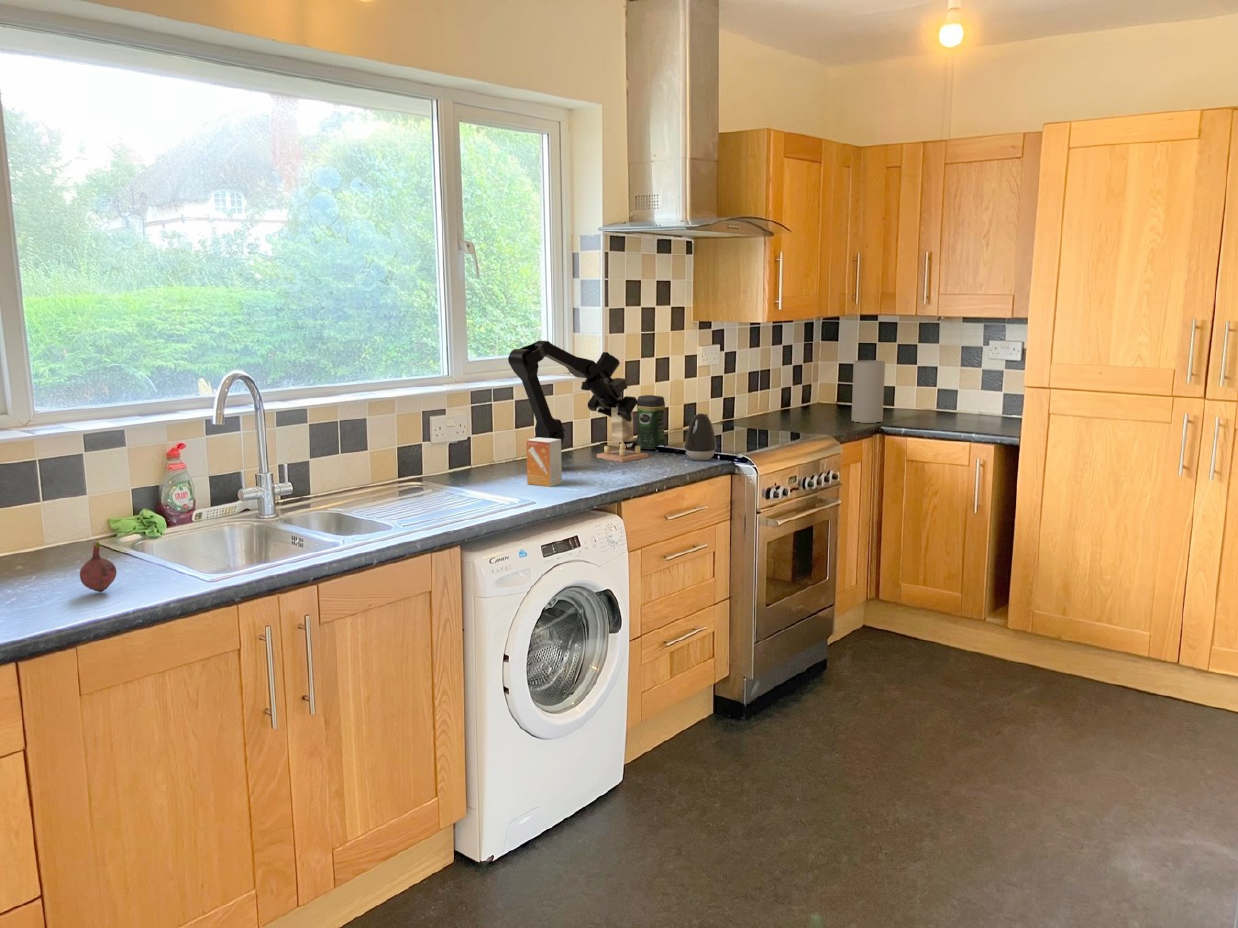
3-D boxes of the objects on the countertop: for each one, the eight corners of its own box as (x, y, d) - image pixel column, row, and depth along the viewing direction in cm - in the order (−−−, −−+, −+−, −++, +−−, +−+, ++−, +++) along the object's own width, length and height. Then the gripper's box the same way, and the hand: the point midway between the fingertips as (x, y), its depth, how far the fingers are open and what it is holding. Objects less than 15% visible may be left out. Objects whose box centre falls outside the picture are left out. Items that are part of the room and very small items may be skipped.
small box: (526, 484, 279) (525, 439, 277) (539, 480, 284) (538, 436, 282) (550, 487, 275) (549, 441, 273) (562, 483, 280) (561, 438, 278)
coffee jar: (668, 447, 341) (668, 395, 338) (656, 450, 335) (656, 397, 331) (645, 445, 347) (645, 393, 343) (633, 448, 340) (633, 395, 337)
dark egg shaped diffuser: (720, 457, 320) (721, 412, 318) (710, 463, 311) (710, 416, 308) (691, 455, 324) (692, 410, 322) (680, 460, 315) (680, 414, 312)
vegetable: (103, 599, 178) (97, 546, 176) (73, 597, 179) (67, 545, 177) (125, 589, 184) (120, 538, 182) (96, 587, 185) (91, 536, 183)
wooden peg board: (622, 461, 314) (622, 450, 313) (596, 457, 322) (596, 446, 322) (647, 457, 322) (647, 446, 321) (622, 453, 331) (622, 442, 330)
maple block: (622, 441, 317) (621, 402, 315) (611, 440, 321) (611, 401, 319) (633, 440, 321) (632, 401, 319) (622, 439, 324) (622, 400, 322)
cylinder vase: (856, 419, 411) (858, 359, 407) (885, 420, 405) (888, 360, 401) (847, 422, 401) (849, 361, 396) (877, 424, 395) (880, 363, 390)
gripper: (633, 371, 308) (657, 403, 317) (593, 368, 321) (617, 399, 330) (616, 398, 304) (640, 430, 313) (576, 394, 317) (600, 424, 326)
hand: (625, 420), depth 321 cm, fingers closed on maple block, 5 cm apart
